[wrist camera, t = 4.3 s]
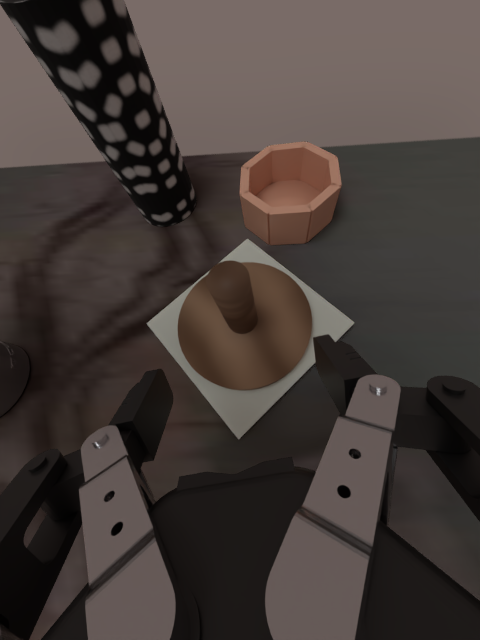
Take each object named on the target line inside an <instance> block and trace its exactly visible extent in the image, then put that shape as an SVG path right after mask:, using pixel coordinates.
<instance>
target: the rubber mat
mask: <svg viewBox="0 0 480 640" xmlns="http://www.w3.org/2000/svg"><path fill="white" fill-rule="evenodd" d="M229 260H232V261H237V262H240V263H242V262H255V263H262V264H266V265H270V266H272V267H275V268H277V269H279V270H281V271H283V272H284V273H286V274H287V275H289V276H290V277H291V278H292V279H293V280H294V281H296V283H297V284H298V285H299V286H300V287H301V289H302V290H303V292H304V294H305V295H306V297H307V300H308V302H309V305H310V309H311V314H312V331H311V337H310V340H309V344H308V346H307V348H306V350H305V353H304V355H303V357H302V358H301V360H300V361H299V363H298V364H297V365H296V366H295V367H294V369H293V370H292V371H291V372H289V373H288V374H287V375H286V376H285V377H283V378H282V379H280V380H279V381H277V382H275V383H273V384H271V385H269V386H266V387H263V388H259V389H253V390H233V389H228V388H224V387H221V386H219V385H216V384H214V383H212V382H210V381H208V380H207V379H205V378H203V377H202V376H201V375H200V374H198V373H197V372H196V371H195V370H194V369H193V368H192V367H191V366H190V364H189V363H188V361H187V360H186V358H185V356H184V354H183V352H182V350H181V347H180V344H179V339H178V318H179V314H180V310H181V307H182V305H183V303H184V301H185V299H186V297H187V295H188V294H189V292H190V291H191V290H192V288H193V287H194V286H195V285H196V284H197V283H198V282H199V281H200V280H201V279H202V278H204V277H205V276H206V275H208V273H209V272H207V273H206V274H205V275H204V276H203V277H201V278H200V279H199V280H198V281H197V282H195V283H194V284H193V285H192V286H191V287H190V288H188V289H187V290H186V291H185V292H184V293H182V294H181V295H180V296H179V297H178V298H176V299H175V300H174V301H173V302H172V303H170V304H169V305H168V306H167V307H166V308H165V309H163V310H162V311H161V312H160V313H159V314H157V315H156V316H155V317H154V318H153V319H151V320H150V321H149V322H148V323H147V325H148V326H149V327H150V329H151V330H152V331H153V332H154V334H155V335H156V336H157V337H158V339H159V340H160V341H161V342H162V344H163V345H164V346H165V347H166V349H167V350H168V351H169V352H170V354H171V355H172V356H173V358H174V359H175V360H176V361H177V363H178V364H179V365H180V366H181V368H182V369H183V370H184V371H185V373H186V374H187V375H188V376H189V378H190V379H191V380H192V382H193V383H194V384H195V385H196V387H197V388H198V389H199V390H200V392H201V393H202V394H203V395H204V397H205V398H206V399H207V400H208V402H209V403H210V404H211V405H212V407H213V408H214V409H215V411H216V412H217V413H218V414H219V416H220V417H221V418H222V419H223V421H224V422H225V423H226V424H227V426H228V427H229V428H230V429H231V431H232V432H233V433H234V434H235V436H236V437H237V438H238V439H240V438H241V437H242V436H243V435H244V434H245V433H246V432H247V431H248V430H249V429H250V428H251V427H252V426H253V425H254V424H255V423H256V422H257V421H258V420H259V419H260V418H261V417H262V416H263V415H264V414H265V413H266V412H267V411H268V410H269V409H270V408H271V407H272V406H273V405H274V404H275V403H276V402H277V401H278V400H279V399H280V398H281V397H282V396H283V395H284V394H285V393H286V392H287V391H288V390H289V389H290V388H291V387H292V386H293V385H294V384H295V383H296V382H297V381H298V380H299V379H300V378H301V377H302V376H303V375H304V374H305V372H306V371H307V370H308V369H309V368H310V367H311V366H312V365H313V364H314V363H315V362H316V361H315V352H314V344H313V337H317V336H322V335H326V334H329V335H330V336H331V337H332V339H333V340H334V341H335V342H336V341H337V340H338V339H339V338H340V337H341V336H342V335H343V334H344V333H345V332H346V331H347V330H348V329H349V328H350V327H351V326H352V325H353V324H354V322H353V321H352V320H351V319H349V318H348V317H347V316H345V315H344V314H343V313H342V312H340V311H339V310H338V309H337V308H335V307H334V306H333V305H331V304H330V303H329V302H328V301H326V300H325V299H324V298H323V297H321V296H320V295H319V294H317V293H316V292H315V291H314V290H312V289H311V288H310V287H309V286H307V285H306V284H305V283H303V282H302V281H301V280H300V279H298V278H297V277H296V276H295V275H293V274H292V273H291V272H289V271H288V270H287V269H286V268H284V267H283V266H282V265H281V264H279V263H278V262H277V261H275V260H274V259H273V258H272V257H270V256H269V255H268V254H267V253H265V252H264V251H263V250H261V249H260V248H259V247H258V246H256V245H255V244H254V243H253V242H251V241H250V240H249V239H247V240H245V241H244V242H243V243H242V244H241V245H239V246H238V247H237V248H236V249H235V250H234V251H232V252H231V253H230V254H229V255H228V256H226V257H225V258H224V259H223V260H222V261H220V262H223V261H229ZM220 262H219V263H220Z"/></svg>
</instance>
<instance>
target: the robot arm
mask: <svg viewBox="0 0 480 640" xmlns="http://www.w3.org/2000/svg"><path fill="white" fill-rule="evenodd" d="M313 344H314V352H315V361H316V367H317V370H318V373H319V375H320V377H321V379H322V381H323V383H324V384H325V386H326V388H327V390H328V392H329V394H330V395H331V397H332V399H333V401H334V403H335V405H336V406H337V408H338V410H339V412H340V414H341V415H339V417H338V419H337V421H336V423H335V426H334V428H333V431H332V433H331V436H330V438H329V441H328V443H327V446H326V448H325V451H324V453H323V456H322V458H321V461H320V463H319V466H318V468H317V471H316V472H315V471H312V470H309V469H306V468H301V467H294V464H293V460H292V457H288V458H283V459H277V460H271V461H266V462H262V463H260V464H258V465H255V466H253V467H251V468H249V469H246V470H244V471H242V472H240V473H237V474H223V473H213V472H203V473H197V474H192V475H186V476H180V477H179V481H178V486H177V488H175V489H174V490H172V491H170V492H168V493H167V494H166V495H164V496H163V497H161V498H160V499H159V500H158V501H157V502H156V501H155V499H154V497H153V494H152V492H151V490H150V487H149V485H148V483H147V480H146V478H145V476H144V473H143V471H142V470H141V466H142V463H143V462H148V461H153V460H154V458H155V455H156V452H157V449H158V446H159V443H160V440H161V437H162V434H163V431H164V428H165V425H166V422H167V419H168V416H169V413H170V410H171V407H172V404H173V393H172V390H171V388H170V386H169V383H168V381H167V379H166V376H165V374H164V372H163V370H162V369H157V370H152V371H147V372H146V373H145V374H144V376H143V378H142V379H141V381H140V383H137V384H136V385H135V386H134V387H133V388H132V389H131V390H130V391H129V393H128V394H127V396H126V398H125V399H124V401H123V402H122V406H120V407H119V409H118V411H117V412H116V414H115V415H114V417H113V419H112V420H111V422H110V424H109V425H108V426H106V427H103V428H101V429H99V430H97V431H96V432H94V433H93V434H91V435H90V436H89V437H88V438H87V439H86V440H85V442H84V443H83V445H82V447H81V449H80V450H77V451H75V452H73V453H70V454H68V455H66V456H64V457H63V455H62V454H61V453H60V451H59V450H58V449H50V450H47V451H45V452H43V453H41V454H39V455H37V456H36V457H34V458H33V459H32V460H30V461H29V462H28V463H27V464H26V465H25V466H24V467H23V468H22V469H21V470H20V472H19V473H18V474H17V475H16V477H15V478H14V479H13V480H12V481H11V483H10V484H9V485H8V486H7V488H6V489H5V490H4V491H3V493H2V494H1V495H0V640H29V638H30V636H31V634H32V632H33V630H34V627H35V625H36V623H37V621H38V619H39V616H40V614H41V612H42V610H43V608H44V606H45V603H46V601H47V599H48V597H49V595H50V593H51V590H52V588H53V586H54V584H55V582H56V579H57V577H58V575H59V573H60V571H61V569H62V566H63V564H64V562H65V560H66V558H67V555H68V553H69V551H70V549H71V547H72V545H73V542H74V540H75V538H76V536H77V534H78V532H79V529H80V527H81V525H82V524H83V533H84V542H85V551H86V560H87V569H88V578H89V582H88V583H87V584H86V586H85V587H84V588H83V589H82V590H81V592H80V593H79V594H78V595H77V597H76V598H75V599H74V600H73V601H72V603H71V604H70V605H69V606H68V607H67V609H66V610H65V611H64V612H63V613H62V615H61V616H60V617H59V618H58V619H57V621H56V622H55V623H54V624H53V626H52V627H51V628H50V629H49V630H48V632H47V633H46V634H45V635H44V636H43V638H42V639H41V640H480V601H479V600H478V599H476V598H475V597H474V596H473V595H472V594H470V593H469V592H468V591H467V590H465V589H464V588H463V587H462V586H460V585H459V584H458V583H457V582H456V581H454V580H453V579H452V578H451V577H449V576H448V575H447V574H446V573H444V572H443V571H442V570H441V569H439V568H438V567H437V566H436V565H435V564H433V563H432V562H431V561H430V560H428V559H427V558H426V557H425V556H423V555H422V554H421V553H420V552H418V551H417V550H416V549H415V548H414V547H412V546H411V545H410V544H409V543H407V542H406V541H405V540H404V539H402V538H401V537H400V536H399V535H397V534H396V533H395V532H394V531H393V530H391V529H390V528H389V527H388V524H389V516H390V507H391V495H392V486H393V479H394V472H395V465H396V458H397V451H398V447H406V448H414V449H423V450H426V451H427V452H428V454H429V455H430V456H431V458H432V459H433V460H434V462H435V463H436V464H437V466H438V467H439V468H440V470H441V471H442V472H443V474H444V475H445V476H446V478H447V479H448V480H449V482H450V483H451V484H452V486H453V487H454V488H455V490H456V491H457V492H458V494H459V495H460V496H461V498H462V499H463V500H464V502H465V503H466V504H467V506H468V507H469V508H470V510H471V511H472V512H473V513H474V515H475V516H476V517H477V519H478V520H479V521H480V388H479V387H477V386H476V385H475V384H473V383H471V382H469V381H467V380H464V379H461V378H458V377H453V376H437V377H433V378H431V379H430V380H429V381H428V382H427V388H412V387H401V386H399V384H398V383H397V382H396V381H394V380H393V379H391V378H389V377H386V376H382V375H378V374H377V373H376V372H375V371H374V370H373V369H372V368H371V367H370V366H369V365H368V364H367V363H366V361H365V360H364V359H363V358H361V356H360V355H359V354H358V353H357V352H356V351H355V350H354V349H353V347H352V346H350V345H348V344H346V343H344V342H342V341H341V342H335V341H334V340H333V339H332V337H331V336H330V335H329V334H326V335H322V336H317V337H313ZM29 371H30V365H29V359H28V356H27V354H26V353H25V351H24V350H23V349H22V348H20V347H19V346H16V345H13V344H9V343H5V342H2V341H0V416H2V415H3V414H4V413H6V412H7V411H8V410H9V409H10V408H11V407H12V406H13V405H14V404H15V403H16V401H17V400H18V399H19V397H20V396H21V394H22V392H23V390H24V388H25V386H26V384H27V380H28V377H29ZM40 507H41V508H42V510H43V511H44V512H45V513H46V514H47V515H46V517H45V519H44V520H43V522H42V524H41V525H40V527H39V529H38V530H37V532H36V534H35V535H34V537H33V539H32V540H31V542H30V544H29V546H28V547H27V548H26V547H25V545H24V541H23V539H24V534H25V531H26V529H27V527H28V525H29V524H30V522H31V521H32V519H33V517H34V516H35V514H36V513H37V511H38V510H39V508H40Z"/></svg>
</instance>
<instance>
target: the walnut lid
mask: <svg viewBox="0 0 480 640" xmlns="http://www.w3.org/2000/svg"><path fill="white" fill-rule="evenodd" d="M311 331H312V314H311V309H310V305H309V302H308V300H307V297H306V295H305V294H304V292H303V290H302V289H301V287H300V286H299V285H298V284H297V283H296V281H294V280H293V279H292V278H291V277H290V276H289V275H287V274H286V273H284V272H283V271H281V270H279V269H277V268H275V267H272V266H270V265H266V264H262V263H255V262H242V263H240V262H237V261H232V260H229V261H223V262H220V263H218V264H217V265H215V266H214V267H213V268H212V269H211V270H210V271H209V273H208V275H206V276H205V277H204V278H202V279H201V280H200V281H199V282H198V283H197V284H196V285H195V286H194V287H193V288H192V290H191V291H190V292H189V294H188V295H187V297H186V299H185V301H184V303H183V305H182V307H181V310H180V314H179V318H178V339H179V344H180V347H181V350H182V352H183V354H184V356H185V358H186V360H187V361H188V363H189V364H190V366H191V367H192V368H193V369H194V370H195V371H196V372H197V373H198V374H200V375H201V376H202V377H203V378H205V379H207V380H208V381H210V382H212V383H214V384H216V385H219V386H221V387H224V388H228V389H233V390H253V389H259V388H263V387H266V386H269V385H271V384H273V383H275V382H277V381H279V380H280V379H282V378H283V377H285V376H286V375H287V374H288V373H289V372H291V371H292V370H293V369H294V367H295V366H296V365H297V364H298V363H299V361H300V360H301V358H302V357H303V355H304V353H305V350H306V348H307V346H308V344H309V340H310V337H311Z"/></svg>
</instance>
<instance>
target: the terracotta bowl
mask: <svg viewBox="0 0 480 640" xmlns="http://www.w3.org/2000/svg"><path fill="white" fill-rule="evenodd" d="M340 189H341V178H340V171H339V164H338V157H337V158H336V156H335V155H333V154H331V153H329V152H327V151H325V150H323V149H321V148H319V147H317V146H315V145H313V144H311V143H309V142H307V143H306V142H296V143H287V144H278V145H271V146H270V147H268V146H267V147H266V148H265V149H264V150H262V151H261V152H260V153H258V154H257V155H256V156H254V157H253V158H252V159H251V160H249V161H248V162H247V163H245V164H244V165H243V166H242V167H241V180H240V199H241V205H242V211H243V217H244V223H245V227H246V228H247V229H249V230H250V231H251V232H253V233H254V234H255V235H256V236H258V237H259V238H260V239H262V240H263V241H264V242H266V243H267V244H268V245H269V244H270V245H284V244H303V243H306V242H309V241H310V240H311V239H312V238H313V237H314V236H315V235H316V234H318V233H319V232H320V231H321V230H322V229H323V228H324V227H325V226H327V225H328V224H329V223H330V222H331V220H332V217H333V213H334V210H335V206H336V203H337V199H338V196H339V192H340Z"/></svg>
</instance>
